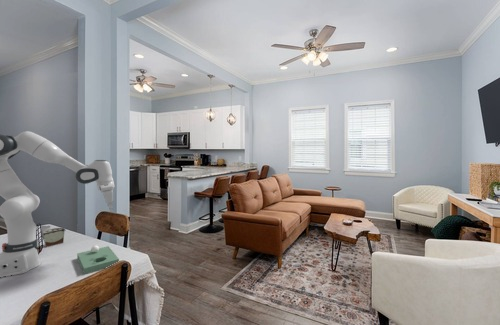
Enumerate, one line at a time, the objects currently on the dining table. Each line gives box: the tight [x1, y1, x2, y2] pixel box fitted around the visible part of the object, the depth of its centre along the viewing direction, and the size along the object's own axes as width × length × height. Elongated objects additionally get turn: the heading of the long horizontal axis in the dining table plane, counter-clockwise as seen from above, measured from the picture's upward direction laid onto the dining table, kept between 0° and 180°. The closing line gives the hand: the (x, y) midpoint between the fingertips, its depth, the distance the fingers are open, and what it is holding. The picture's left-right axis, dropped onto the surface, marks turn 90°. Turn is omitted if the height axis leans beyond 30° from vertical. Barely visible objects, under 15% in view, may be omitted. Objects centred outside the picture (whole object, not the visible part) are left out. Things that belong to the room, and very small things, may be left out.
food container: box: [42, 227, 66, 248], centre depth 159 cm, size 12×6×10 cm, turn 144°
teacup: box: [40, 225, 52, 240], centre depth 170 cm, size 15×12×8 cm
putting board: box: [76, 246, 120, 275], centre depth 135 cm, size 16×24×3 cm, turn 43°
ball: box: [90, 244, 100, 253], centre depth 140 cm, size 4×4×4 cm
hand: (110, 207), depth 146 cm, fingers open, 8 cm apart
